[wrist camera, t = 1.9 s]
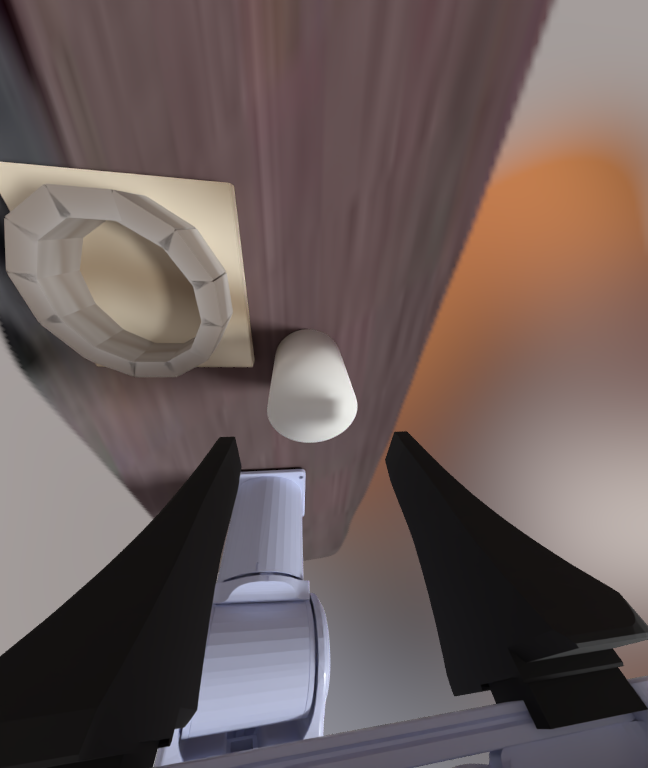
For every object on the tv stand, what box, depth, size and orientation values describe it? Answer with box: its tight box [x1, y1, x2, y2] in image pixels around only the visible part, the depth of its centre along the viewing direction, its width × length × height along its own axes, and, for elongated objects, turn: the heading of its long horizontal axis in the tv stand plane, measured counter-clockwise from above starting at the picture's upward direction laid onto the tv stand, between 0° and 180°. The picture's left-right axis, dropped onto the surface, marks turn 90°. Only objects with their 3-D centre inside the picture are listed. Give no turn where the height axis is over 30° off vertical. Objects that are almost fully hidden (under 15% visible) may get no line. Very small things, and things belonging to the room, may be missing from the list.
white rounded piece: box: [267, 329, 357, 443], centre depth 15 cm, size 5×5×6 cm
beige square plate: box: [0, 162, 255, 377], centre depth 13 cm, size 10×10×4 cm
